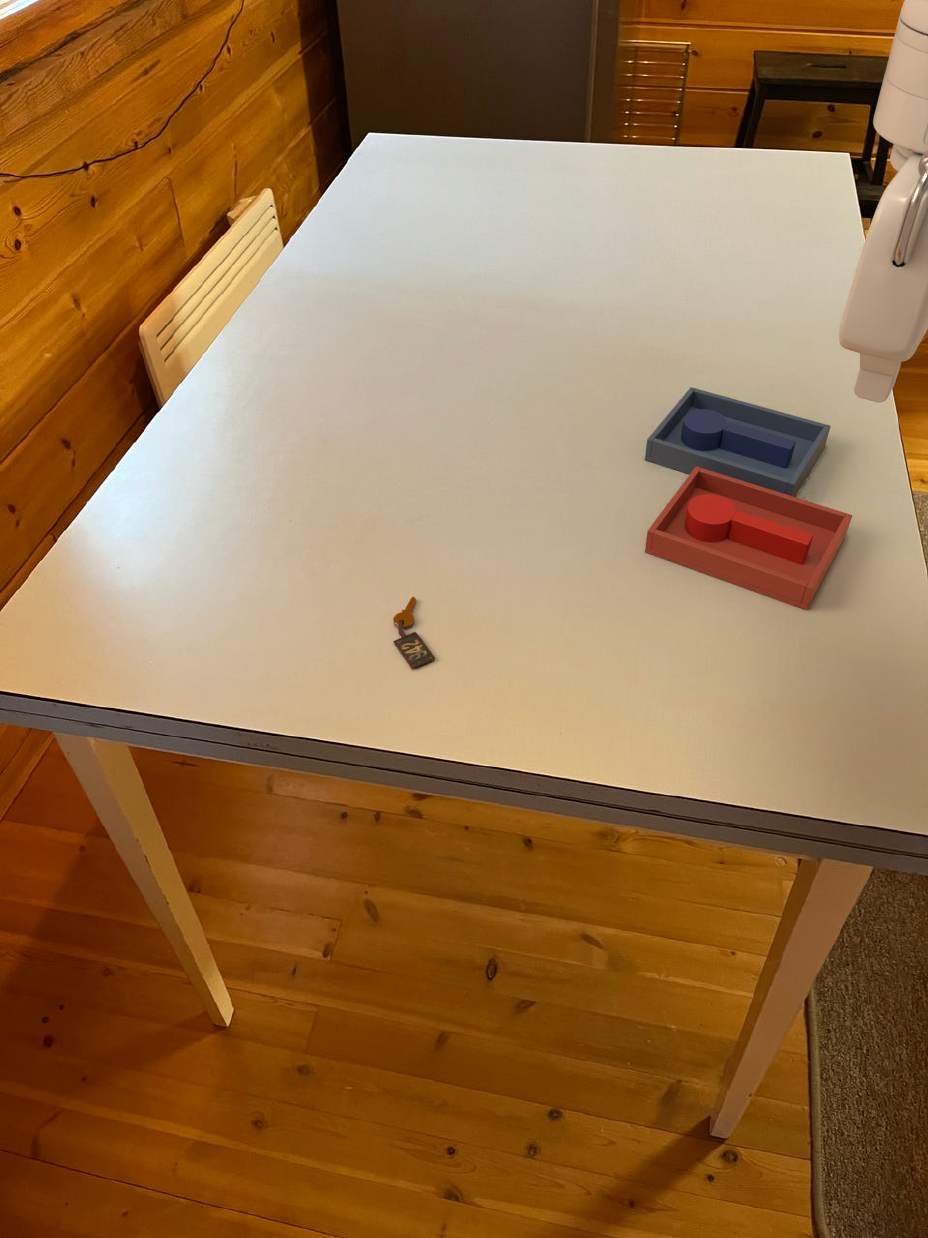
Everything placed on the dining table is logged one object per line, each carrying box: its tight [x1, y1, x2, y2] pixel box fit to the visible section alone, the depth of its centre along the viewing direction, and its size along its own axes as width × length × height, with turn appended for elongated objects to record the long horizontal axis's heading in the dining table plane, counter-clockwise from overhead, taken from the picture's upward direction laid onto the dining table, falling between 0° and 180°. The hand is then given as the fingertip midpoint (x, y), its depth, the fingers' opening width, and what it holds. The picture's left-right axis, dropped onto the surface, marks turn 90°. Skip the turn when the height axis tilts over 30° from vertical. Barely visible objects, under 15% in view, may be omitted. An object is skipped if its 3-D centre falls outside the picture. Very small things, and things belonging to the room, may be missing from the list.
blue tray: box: [644, 386, 832, 497], centre depth 95 cm, size 15×11×3 cm
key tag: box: [392, 596, 436, 670], centre depth 80 cm, size 8×3×1 cm, turn 15°
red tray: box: [644, 466, 853, 610], centre depth 85 cm, size 15×11×3 cm
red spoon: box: [685, 494, 813, 564], centre depth 85 cm, size 11×4×2 cm, turn 57°
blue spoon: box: [681, 409, 796, 468], centre depth 95 cm, size 11×4×2 cm, turn 57°
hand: (895, 354), depth 54 cm, fingers open, 8 cm apart
